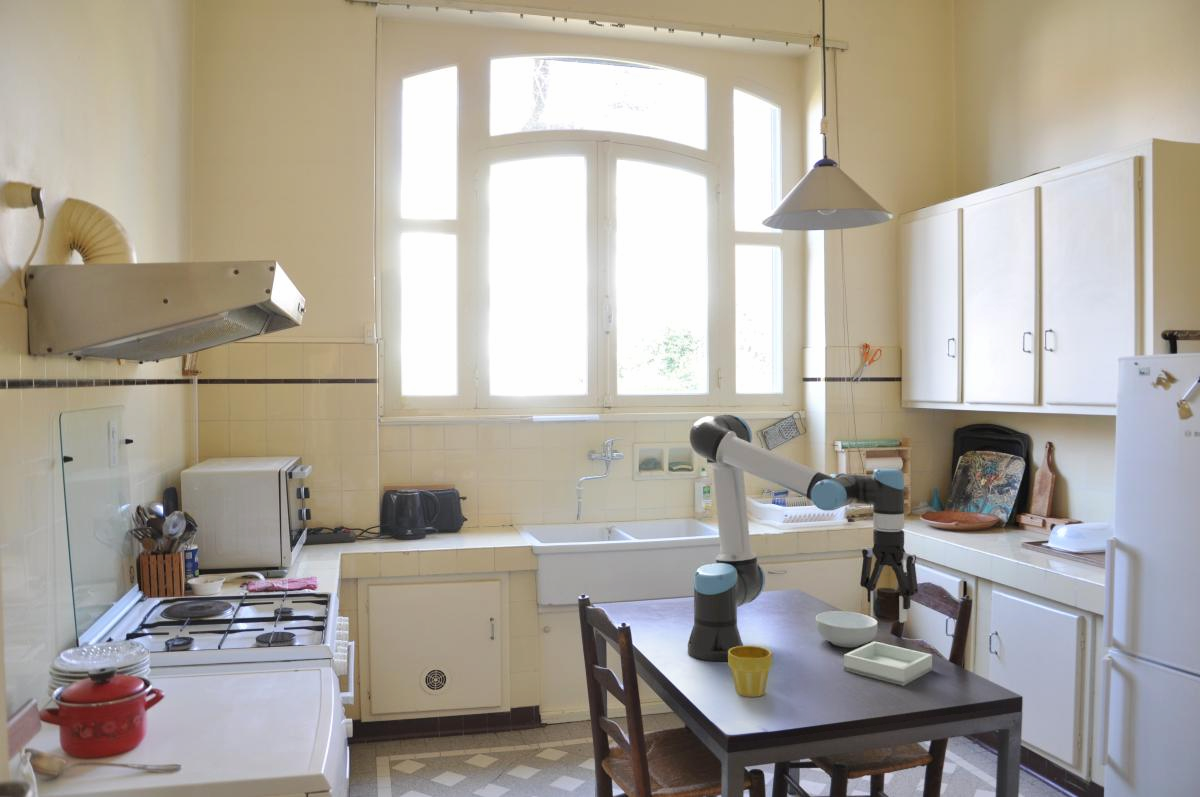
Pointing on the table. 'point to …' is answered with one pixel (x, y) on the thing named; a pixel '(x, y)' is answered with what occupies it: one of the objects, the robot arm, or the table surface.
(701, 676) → the table surface
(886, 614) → the mate gourd
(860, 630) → the cereal bowl
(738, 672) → the plant pot
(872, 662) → the open box
